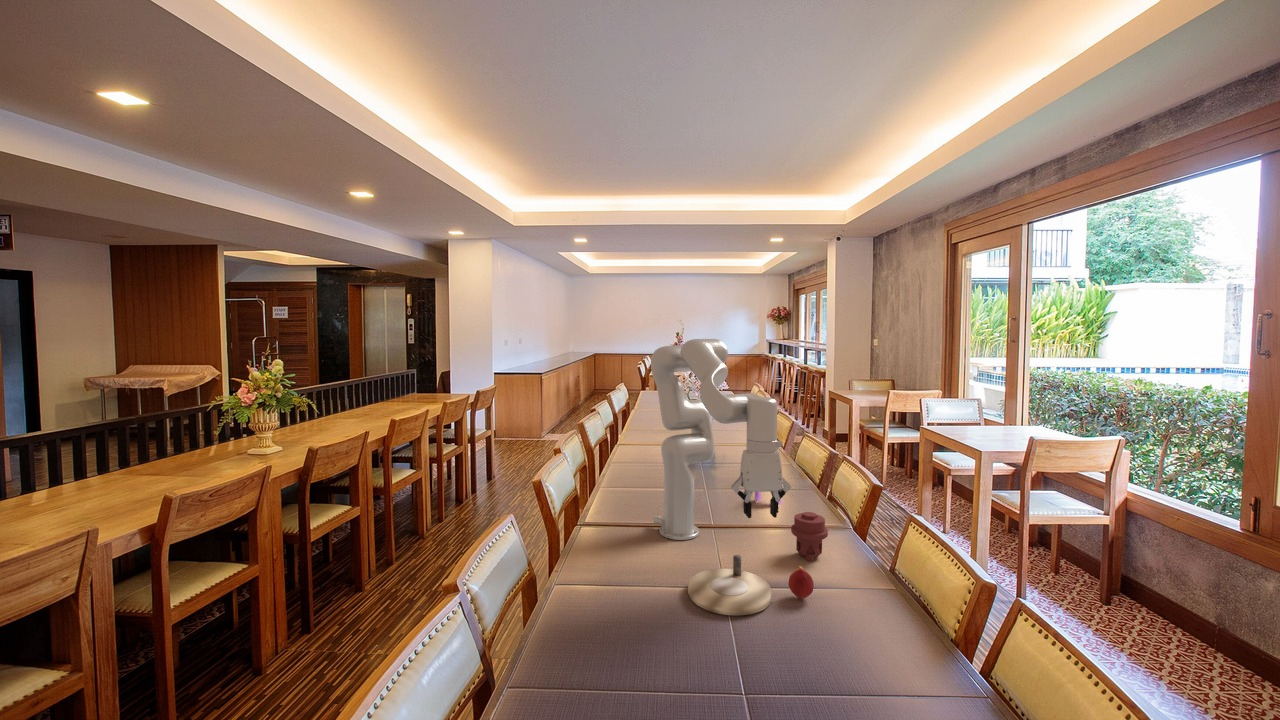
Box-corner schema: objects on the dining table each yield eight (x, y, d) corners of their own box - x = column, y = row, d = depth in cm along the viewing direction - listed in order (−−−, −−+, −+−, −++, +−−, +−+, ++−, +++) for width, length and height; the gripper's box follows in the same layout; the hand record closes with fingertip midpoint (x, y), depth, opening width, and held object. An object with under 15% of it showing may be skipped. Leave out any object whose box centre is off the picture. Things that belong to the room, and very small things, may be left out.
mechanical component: (824, 550, 156) (829, 565, 147) (789, 547, 158) (792, 562, 149) (825, 509, 156) (830, 521, 146) (790, 507, 158) (792, 518, 148)
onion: (813, 595, 130) (814, 563, 130) (813, 606, 125) (813, 573, 124) (789, 591, 132) (789, 560, 132) (787, 602, 126) (787, 569, 126)
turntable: (675, 603, 125) (675, 576, 125) (703, 569, 143) (704, 545, 143) (760, 623, 117) (760, 594, 116) (779, 584, 134) (779, 559, 134)
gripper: (789, 442, 139) (788, 510, 140) (724, 443, 138) (724, 512, 139) (800, 448, 131) (799, 520, 132) (731, 450, 130) (731, 522, 131)
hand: (760, 515), depth 136 cm, fingers open, 5 cm apart
